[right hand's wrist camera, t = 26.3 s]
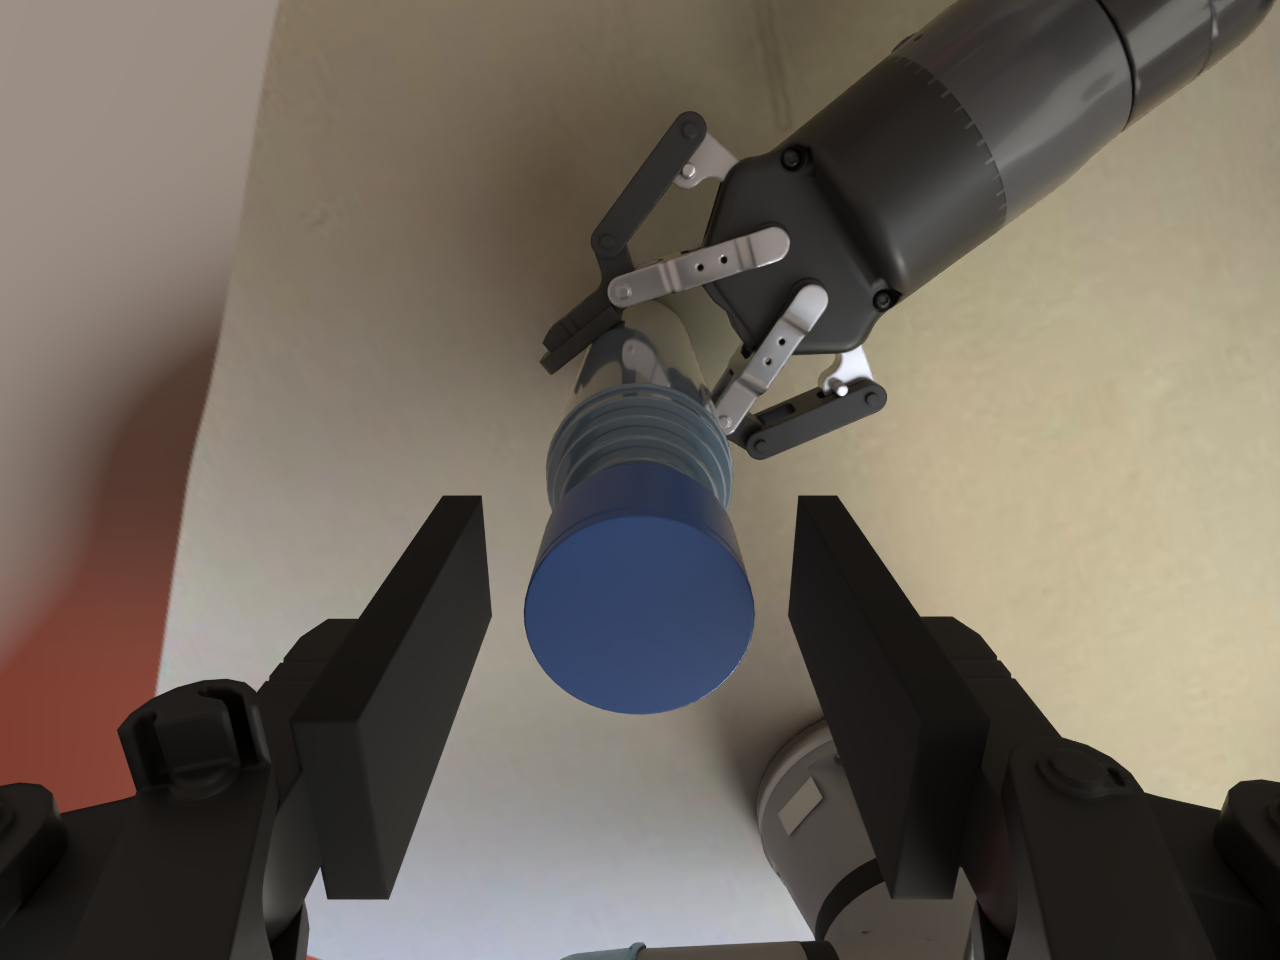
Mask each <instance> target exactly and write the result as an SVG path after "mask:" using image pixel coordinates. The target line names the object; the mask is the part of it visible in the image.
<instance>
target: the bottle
mask: <svg viewBox="0 0 1280 960" xmlns="http://www.w3.org/2000/svg"><path fill="white" fill-rule="evenodd" d="M630 464H649V465H657V466H662V467H666V468H670V469H673V470H676V471H678V472H681V473H683V474H686V475H687V476H689V477H691V478H693V479H695V480H696V481H698V482H699V483H700V484H702V485H703V486H704V487H706V488H707V489H708V490H709V491H710V492H711V493H712V494H713V495H714V496H715V497H716V498H717V499H718V501H719V502H720V503H721V505H722V506H723V507H724V509H725V511H726V513H727V510H728V508H729V505H730V500H731V495H732V485H733V472H734V471H733V459H732V454H731V449H730V446H729V443H728V440H727V437H726V435H725V432H724V429H723V427H722V424H721V422H720V419H719V416H718V414H717V411H716V408H715V406H714V403H713V400H712V398H711V395H710V392H709V390H708V387H707V384H706V382H705V379H704V376H703V374H702V371H701V368H700V366H699V363H698V360H697V358H696V355H695V352H694V350H693V347H692V344H691V342H690V339H689V336H688V334H687V331H686V328H685V326H684V325H683V323H682V321H681V320H680V318H679V317H678V316H677V315H676V314H675V313H674V312H673V311H672V310H671V309H670V308H668V307H667V306H665V305H664V304H661V303H659V302H657V301H653V300H649V301H646V302H643V303H640V304H636V305H633V306H630V307H628V308H626V309H625V310H624V311H623V315H622V320H620V321H619V322H618V323H617V324H615V325H614V326H613V327H612V328H610V329H609V330H608V331H607V332H605V333H604V334H602V335H601V336H600V337H599V338H598V339H597V340H595V341H594V342H593V343H592V344H590V345H589V346H588V347H587V350H586V352H585V355H584V358H583V360H582V363H581V365H580V368H579V371H578V373H577V376H576V378H575V381H574V384H573V386H572V389H571V391H570V394H569V397H568V399H567V402H566V404H565V407H564V410H563V412H562V415H561V418H560V420H559V423H558V425H557V428H556V431H555V433H554V436H553V438H552V441H551V444H550V447H549V451H548V455H547V463H546V480H547V493H548V499H549V503H550V506H551V509H552V512H553V511H554V509H555V507H556V506H557V504H558V503H559V502H560V501H561V499H562V498H563V497H564V496H565V495H566V494H567V493H568V492H569V491H570V490H571V489H572V488H573V487H574V486H576V485H577V484H578V483H580V482H581V481H583V480H584V479H586V478H588V477H590V476H591V475H593V474H595V473H598V472H600V471H603V470H606V469H609V468H613V467H617V466H622V465H630Z"/></svg>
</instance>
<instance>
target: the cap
mask: <svg viewBox="0 0 1280 960" xmlns="http://www.w3.org/2000/svg"><path fill="white" fill-rule="evenodd" d="M754 617H755V612H754V600H753V596H752V592H751V587H750V584H749V581H748V577H747V574H746V570H745V567H744V563H743V560H742V556H741V553H740V549H739V546H738V543H737V539H736V536H735V532H734V529H733V526H732V524H731V521H730V518H729V516H728V514H727V513H726V511H725V509H724V507H723V506H722V505H721V503H720V502H719V501H718V499H717V498H716V497H715V496H714V495H713V494H712V493H711V492H710V491H709V490H708V489H707V488H706V487H704V486H703V485H702V484H700V483H699V482H698V481H696V480H695V479H693V478H691V477H689V476H687V475H686V474H683V473H681V472H678V471H676V470H673V469H670V468H666V467H662V466H657V465H649V464H630V465H622V466H617V467H613V468H609V469H606V470H603V471H600V472H598V473H595V474H593V475H591V476H590V477H588V478H586V479H584V480H583V481H581V482H580V483H578V484H577V485H576V486H574V487H573V488H572V489H571V490H570V491H569V492H568V493H567V494H566V495H565V496H564V497H563V498H562V499H561V501H560V502H559V503H558V504H557V506H556V507H555V509H554V511H553V512H552V514H551V516H550V518H549V521H548V523H547V526H546V529H545V532H544V535H543V539H542V542H541V545H540V549H539V552H538V556H537V559H536V562H535V566H534V569H533V572H532V576H531V579H530V582H529V586H528V590H527V594H526V598H525V606H524V623H525V629H526V634H527V639H528V641H529V644H530V647H531V650H532V652H533V653H534V655H535V657H536V659H537V661H538V663H539V664H540V665H541V667H542V668H543V670H544V671H545V672H546V674H547V675H548V676H549V677H550V678H551V679H552V680H553V681H554V682H555V683H556V684H557V685H559V686H560V687H561V688H562V689H564V690H565V691H566V692H568V693H569V694H571V695H572V696H574V697H575V698H577V699H579V700H581V701H583V702H585V703H587V704H589V705H592V706H595V707H598V708H601V709H604V710H608V711H613V712H617V713H626V714H653V713H661V712H666V711H671V710H675V709H678V708H681V707H684V706H687V705H689V704H691V703H693V702H696V701H698V700H700V699H701V698H703V697H705V696H706V695H708V694H710V693H711V692H713V691H714V690H715V689H716V688H718V687H719V686H720V685H721V684H723V682H724V681H725V680H726V679H727V678H728V677H729V676H730V675H731V674H732V673H733V672H734V670H735V669H736V668H737V666H738V665H739V664H740V662H741V660H742V658H743V657H744V655H745V653H746V651H747V648H748V646H749V643H750V641H751V637H752V632H753V628H754Z"/></svg>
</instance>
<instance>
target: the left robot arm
mask: <svg viewBox="0 0 1280 960" xmlns="http://www.w3.org/2000/svg"><path fill="white" fill-rule="evenodd" d="M1275 2H1276V0H958V1H957V2H955V3H954V4H952V5H951V6H950V7H948V8H947V9H946V10H944V11H943V12H942V13H940V14H939V15H938V16H936V17H935V18H934V19H933V20H932V21H930V22H929V23H928V24H927V25H926V26H924V27H923V28H922V29H921V30H919V31H918V32H916V33H914V34H912V35H911V36H908V37H907V38H905V39H904V40H903V41H902V42H900V43H899V44H898V45H897V46H896V47H895V48H894V50H893V51H892V52H891V54H890V55H889V56H888V57H886V58H885V59H884V60H883V61H882V62H880V63H879V64H878V65H877V66H875V67H874V68H873V69H872V70H871V71H869V72H868V73H867V74H866V75H864V76H863V77H862V78H861V79H860V80H858V81H857V82H856V83H855V84H853V85H852V86H851V87H850V88H849V89H847V90H846V91H845V92H844V93H842V94H841V95H840V96H839V97H837V98H836V99H835V100H834V101H833V102H831V103H830V104H829V105H828V106H826V107H825V108H824V109H823V110H822V111H820V112H819V113H818V114H817V115H815V116H814V117H813V118H812V119H811V120H809V121H808V122H807V123H806V124H804V125H803V126H802V127H801V128H799V129H798V130H797V131H796V132H795V133H793V134H792V135H791V136H790V137H788V138H787V139H786V140H785V141H784V142H782V143H781V144H780V145H779V146H777V147H776V148H775V149H773V150H772V151H771V152H769V153H767V154H764V155H761V156H756V157H749V158H745V159H743V160H741V161H739V160H738V159H737V158H736V157H735V156H733V155H732V154H731V153H730V152H729V151H728V150H727V149H726V148H725V147H724V146H722V145H721V144H720V143H719V142H718V141H717V140H716V139H715V138H714V137H713V136H711V135H710V134H709V133H708V132H707V129H706V123H705V121H704V119H703V118H702V116H700V115H699V114H698V113H696V112H692V111H688V112H684V113H682V114H680V115H679V116H678V117H677V118H676V120H675V121H674V122H673V124H672V125H671V127H670V128H669V129H668V131H667V132H666V133H665V135H664V136H663V138H662V139H661V140H660V142H659V143H658V144H657V146H656V147H655V148H654V150H653V151H652V153H651V154H650V155H649V157H648V158H647V159H646V161H645V162H644V164H643V165H642V166H641V168H640V169H639V170H638V172H637V173H636V174H635V176H634V177H633V179H632V180H631V181H630V183H629V184H628V185H627V187H626V188H625V190H624V191H623V192H622V194H621V195H620V196H619V198H618V199H617V200H616V202H615V203H614V205H613V206H612V207H611V209H610V210H609V211H608V213H607V214H606V216H605V217H604V218H603V220H602V221H601V222H600V224H599V225H598V227H597V228H596V229H595V231H594V232H593V234H592V237H591V245H592V248H593V250H594V252H595V254H596V257H597V260H598V264H599V267H600V270H601V273H602V281H601V285H600V287H599V288H598V289H597V290H596V291H594V292H593V293H592V294H591V295H590V296H588V297H587V298H586V299H585V300H583V301H582V302H581V303H580V304H579V305H577V306H576V307H575V308H574V309H572V310H571V311H570V312H569V313H568V314H566V315H565V316H564V317H563V318H561V319H560V320H559V321H558V322H557V323H555V324H554V325H553V326H552V327H551V329H550V330H549V331H548V333H547V335H546V337H545V339H544V341H543V344H544V345H545V347H546V348H547V349H548V350H549V351H548V352H546V353H545V354H544V356H543V357H542V358H541V360H540V363H541V364H542V366H543V367H544V368H545V369H546V370H547V372H548V373H549V374H550V375H552V374H554V373H555V372H556V371H558V370H559V369H560V368H561V367H563V366H564V365H565V364H567V363H568V362H569V361H570V360H572V359H573V358H574V357H575V356H577V355H578V354H579V353H580V352H582V351H583V350H584V349H585V348H587V347H588V346H589V345H590V344H592V343H593V342H594V341H595V340H597V339H598V338H599V337H600V336H601V335H602V334H604V333H605V332H607V331H608V330H609V329H610V328H612V327H613V326H614V325H615V324H617V323H618V322H619V321H620V320H622V315H623V311H624V310H625V309H626V308H628V307H630V306H633V305H636V304H640V303H643V302H646V301H649V300H652V299H655V298H658V297H661V296H664V295H667V294H671V293H677V292H681V291H685V290H688V289H691V288H694V287H697V286H700V285H702V286H703V288H704V289H705V290H706V292H707V293H708V294H709V296H710V297H711V298H712V300H713V301H714V302H715V303H716V304H718V305H719V306H720V307H721V308H723V309H724V310H725V311H726V312H727V315H728V317H729V320H730V323H731V325H732V327H733V329H734V330H735V332H736V333H737V334H738V336H739V337H740V338H741V340H742V342H741V343H740V345H739V347H738V348H737V350H736V351H735V353H734V354H733V356H732V357H731V359H730V361H729V364H728V367H727V369H726V370H725V372H724V373H723V375H722V376H721V378H720V379H719V381H718V383H717V384H716V386H715V387H714V389H713V390H712V392H711V393H710V395H711V398H712V400H713V403H714V406H715V408H716V411H717V414H718V416H719V419H720V422H721V424H722V427H723V429H724V432H725V435H726V437H727V440H730V441H732V442H734V443H735V444H737V445H739V446H740V447H742V448H743V449H745V450H747V452H748V454H749V455H750V456H751V457H752V458H754V459H757V460H763V459H766V458H769V457H771V456H774V455H776V454H778V453H781V452H783V451H785V450H788V449H790V448H793V447H795V446H797V445H800V444H802V443H804V442H807V441H809V440H812V439H814V438H816V437H819V436H821V435H824V434H826V433H828V432H831V431H833V430H835V429H838V428H840V427H843V426H845V425H847V424H850V423H852V422H854V421H857V420H859V419H862V418H864V417H866V416H869V415H871V414H873V413H876V412H878V411H880V410H881V409H882V408H883V407H884V405H885V404H886V401H887V394H886V391H885V390H884V388H883V387H881V386H880V385H879V384H878V383H877V382H876V381H875V380H874V378H873V375H872V372H871V369H870V366H869V363H868V360H867V357H866V355H865V352H864V349H863V346H862V344H863V343H864V342H865V340H866V339H867V338H868V336H869V334H870V332H871V330H872V328H873V326H874V325H875V323H876V322H877V321H878V319H879V318H880V317H881V316H882V315H883V314H884V313H885V312H886V311H888V310H889V309H891V308H892V307H894V306H895V305H897V304H898V303H900V302H901V301H903V300H904V299H905V298H907V297H908V296H910V295H911V294H912V293H914V292H915V291H916V290H918V289H919V288H920V287H922V286H923V285H925V284H926V283H927V282H929V281H930V280H931V279H933V278H934V277H936V276H937V275H938V274H940V273H941V272H942V271H944V270H945V269H947V268H948V267H949V266H951V265H952V264H953V263H955V262H956V261H957V260H959V259H960V258H962V257H963V256H964V255H966V254H967V253H968V252H970V251H971V250H973V249H974V248H976V247H977V246H978V245H980V244H981V243H983V242H984V241H985V240H987V239H988V238H989V237H991V236H992V235H994V234H995V233H996V232H998V231H999V230H1000V229H1002V228H1003V227H1004V226H1006V225H1007V224H1009V223H1010V222H1011V221H1013V220H1014V219H1016V218H1017V217H1018V216H1020V215H1021V214H1022V213H1024V212H1025V211H1026V210H1028V209H1029V208H1031V207H1032V206H1033V205H1035V204H1036V203H1037V202H1039V201H1040V200H1042V199H1043V198H1044V197H1046V196H1047V195H1048V194H1050V193H1051V192H1053V191H1054V190H1055V189H1056V188H1058V187H1059V186H1060V185H1062V184H1063V183H1064V182H1065V181H1067V180H1068V179H1069V178H1070V177H1071V176H1072V175H1073V174H1074V173H1076V172H1077V171H1078V170H1079V169H1080V168H1081V167H1082V166H1083V165H1084V164H1085V163H1086V162H1087V161H1088V160H1089V159H1090V158H1092V157H1093V156H1094V155H1095V154H1096V153H1097V152H1098V151H1099V150H1100V149H1101V148H1103V147H1104V146H1105V145H1106V144H1107V143H1109V142H1110V141H1111V140H1113V139H1114V138H1115V137H1116V136H1117V135H1118V134H1120V133H1121V132H1123V131H1124V130H1125V129H1127V128H1128V127H1130V126H1131V125H1132V124H1134V123H1135V122H1136V121H1138V120H1139V119H1141V118H1142V117H1143V116H1145V115H1146V114H1147V113H1149V112H1150V111H1151V110H1153V109H1154V108H1156V107H1157V106H1158V105H1160V104H1161V103H1162V102H1164V101H1165V100H1167V99H1168V98H1169V97H1171V96H1172V95H1173V94H1175V93H1176V92H1178V91H1179V90H1180V89H1182V88H1183V87H1184V86H1186V85H1187V84H1189V83H1190V82H1192V81H1193V80H1195V79H1196V78H1197V77H1199V76H1200V75H1201V74H1203V73H1204V72H1206V71H1207V70H1208V69H1210V68H1211V67H1212V66H1214V65H1215V64H1216V63H1218V62H1219V61H1220V60H1222V59H1223V58H1224V57H1226V56H1227V55H1228V54H1229V53H1231V52H1232V51H1233V50H1234V49H1235V48H1237V47H1238V46H1239V45H1240V44H1241V43H1242V42H1243V41H1244V40H1246V39H1247V38H1248V37H1249V36H1250V35H1251V34H1252V33H1253V32H1254V31H1255V30H1256V29H1257V28H1258V26H1259V25H1260V24H1261V23H1262V22H1263V20H1264V19H1265V17H1266V16H1267V15H1268V13H1269V12H1270V10H1271V9H1272V7H1273V5H1274V3H1275ZM706 178H714V179H716V180H718V181H719V182H720V186H719V189H718V192H717V196H716V199H715V202H714V206H713V209H712V212H711V215H710V219H709V222H708V225H707V229H706V232H705V235H704V239H703V242H702V243H700V244H697V245H694V246H691V247H688V248H685V249H682V250H679V251H676V252H673V253H670V254H667V255H665V256H662V257H660V258H658V259H655V260H652V261H649V262H646V263H643V264H640V265H637V266H633V263H632V259H631V256H630V253H629V250H628V247H627V244H626V243H627V242H628V241H629V239H630V238H631V237H632V235H633V234H634V233H635V231H636V230H637V229H638V227H639V226H640V225H641V223H642V222H643V221H644V219H645V218H646V217H647V215H648V214H649V213H650V211H651V210H652V209H653V207H654V206H655V205H656V203H657V202H658V201H659V199H660V198H661V197H662V195H663V194H664V193H665V191H666V190H667V189H668V187H669V186H670V185H671V183H674V184H675V185H676V186H677V187H679V188H681V189H690V188H693V187H695V186H696V185H698V184H699V183H700V182H701V181H702V180H703V179H706ZM811 354H836V357H835V360H834V362H833V364H832V365H831V366H830V367H829V368H828V369H826V370H824V371H823V372H822V373H821V374H820V376H819V378H818V387H816V388H814V389H812V390H809V391H807V392H805V393H802V394H800V395H798V396H795V397H793V398H791V399H788V400H786V401H784V402H781V403H779V404H777V405H774V406H772V407H770V408H768V409H765V410H763V411H761V412H758V413H756V414H754V415H753V414H751V413H750V412H748V411H749V410H750V408H751V407H752V405H753V404H754V402H755V401H756V400H757V398H758V397H759V396H760V395H761V394H763V393H765V392H766V391H767V389H768V388H769V387H770V385H771V384H772V382H773V381H774V380H775V378H776V377H777V375H778V374H779V372H780V371H781V369H782V368H783V367H784V365H785V364H786V362H787V361H788V359H789V358H790V356H791V355H811ZM766 359H769V361H768V362H765V361H766Z"/></svg>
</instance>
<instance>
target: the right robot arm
mask: <svg viewBox="0 0 1280 960" xmlns="http://www.w3.org/2000/svg"><path fill="white" fill-rule="evenodd" d="M491 617H492V611H491V600H490V588H489V576H488V565H487V553H486V541H485V530H484V518H483V506H482V496H442V498H441V499H440V501H439V502H438V504H437V505H436V507H435V508H434V509H433V511H432V512H431V514H430V515H429V517H428V518H427V520H426V521H425V523H424V524H423V525H422V527H421V528H420V530H419V531H418V533H417V534H416V536H415V537H414V539H413V540H412V541H411V543H410V544H409V546H408V547H407V549H406V550H405V552H404V553H403V555H402V556H401V557H400V559H399V560H398V562H397V563H396V565H395V566H394V568H393V569H392V571H391V572H390V573H389V575H388V576H387V578H386V579H385V581H384V582H383V584H382V585H381V587H380V588H379V590H378V591H377V592H376V594H375V595H374V597H373V598H372V600H371V601H370V603H369V604H368V606H367V607H366V608H365V610H364V611H363V613H362V614H361V616H360V617H359V619H327V620H326V621H324V622H323V623H321V624H320V625H318V626H317V627H315V628H314V629H312V630H311V631H309V632H308V633H306V634H305V635H303V636H302V637H300V638H299V640H298V641H297V642H296V644H295V645H294V646H293V647H292V649H291V650H290V651H289V652H288V654H287V655H286V656H285V657H284V661H283V663H280V664H279V665H278V666H277V667H276V669H275V670H274V671H273V673H272V674H271V675H270V676H269V681H265V683H264V684H263V685H262V686H261V688H260V689H259V690H258V691H257V693H256V691H255V690H254V689H252V688H251V687H250V686H249V685H248V684H246V683H245V682H240V681H235V680H230V679H217V680H203V681H199V682H196V683H192V684H188V685H184V686H180V687H177V688H175V689H172V690H170V691H168V692H166V693H163V694H161V695H159V696H157V697H155V698H152V699H151V700H149V701H148V702H146V703H145V704H144V705H142V706H141V707H139V708H138V709H136V710H135V711H134V712H132V713H131V714H130V715H129V716H128V717H127V719H126V720H125V721H124V722H123V723H122V724H121V726H120V727H119V728H118V729H117V732H118V735H119V738H120V741H121V744H122V747H123V750H124V753H125V756H126V759H127V763H128V766H129V769H130V772H131V775H132V778H133V781H134V784H135V787H136V790H137V792H136V795H135V796H132V797H129V798H125V799H122V800H118V801H113V802H109V803H104V804H100V805H95V806H91V807H87V808H82V809H78V810H73V811H69V812H65V813H60V812H59V810H58V807H57V804H56V802H55V799H54V796H53V794H52V793H51V792H50V791H49V790H47V789H46V788H45V787H43V786H42V785H39V784H30V783H15V784H8V785H3V786H0V960H306V955H307V946H308V937H309V922H308V915H307V909H306V905H305V901H304V899H305V897H306V895H307V893H308V891H309V889H310V887H311V885H312V883H313V881H314V879H315V876H316V874H317V872H318V870H319V868H320V867H321V871H322V876H323V881H324V885H325V890H326V895H327V899H389V897H390V895H391V892H392V889H393V886H394V884H395V881H396V878H397V875H398V873H399V870H400V867H401V864H402V862H403V859H404V856H405V853H406V851H407V848H408V845H409V842H410V840H411V837H412V834H413V831H414V829H415V826H416V823H417V820H418V818H419V815H420V812H421V809H422V807H423V804H424V801H425V798H426V796H427V793H428V790H429V787H430V785H431V782H432V779H433V776H434V774H435V771H436V768H437V765H438V763H439V760H440V757H441V754H442V752H443V749H444V746H445V743H446V741H447V738H448V735H449V732H450V730H451V727H452V724H453V721H454V719H455V716H456V713H457V710H458V708H459V705H460V702H461V699H462V697H463V694H464V691H465V688H466V686H467V683H468V680H469V677H470V675H471V672H472V669H473V666H474V664H475V661H476V658H477V655H478V653H479V650H480V647H481V644H482V642H483V639H484V636H485V633H486V631H487V628H488V625H489V622H490V620H491ZM788 617H789V620H790V622H791V625H792V628H793V631H794V633H795V636H796V639H797V642H798V644H799V647H800V650H801V653H802V655H803V658H804V661H805V664H806V666H807V669H808V672H809V675H810V677H811V680H812V683H813V686H814V688H815V691H816V694H817V697H818V699H819V702H820V705H821V708H822V710H823V713H824V716H825V719H823V720H821V721H819V722H817V723H815V724H813V725H812V726H810V727H808V728H806V729H805V730H804V731H802V732H801V733H799V734H798V735H797V736H795V737H794V738H793V739H792V740H790V741H789V742H788V743H787V744H786V745H785V746H784V747H783V748H782V749H781V750H780V751H779V753H778V754H777V755H776V756H775V757H774V759H773V760H772V762H771V763H770V765H769V766H768V768H767V770H766V772H765V774H764V776H763V778H762V781H761V783H760V787H759V791H758V795H757V819H758V825H759V830H760V835H761V840H762V845H763V849H764V852H765V854H766V857H767V859H768V861H769V863H770V865H771V866H772V868H773V869H774V871H775V872H776V874H777V875H778V877H779V878H780V879H781V881H782V882H783V884H784V885H785V886H786V888H787V889H788V891H789V893H790V895H791V897H792V899H793V900H794V902H795V904H796V906H797V907H798V909H799V911H800V913H801V914H802V916H803V918H804V919H805V921H806V923H807V924H808V926H809V928H810V929H811V931H812V933H813V935H814V937H815V941H805V942H799V941H788V942H768V943H748V944H727V945H707V946H687V947H667V948H646V945H645V944H644V943H634V944H633V945H631V946H630V947H629V948H625V949H615V950H606V951H596V952H587V953H578V954H573V955H569V956H567V957H564V958H562V959H561V960H1280V783H1279V782H1274V781H1268V780H1262V779H1260V780H1250V781H1240V782H1239V783H1238V784H1236V785H1235V786H1234V787H1232V788H1231V789H1230V790H1229V791H1228V794H1227V796H1226V799H1225V802H1224V804H1223V807H1222V810H1216V809H1212V808H1208V807H1203V806H1199V805H1194V804H1190V803H1185V802H1181V801H1176V800H1172V799H1168V798H1163V797H1159V796H1155V795H1152V794H1148V793H1145V792H1144V791H1143V790H1142V788H1141V787H1140V785H1139V784H1138V782H1137V781H1136V780H1135V778H1134V777H1133V775H1132V774H1131V773H1130V772H1129V771H1128V770H1126V769H1125V768H1124V767H1123V766H1121V765H1120V764H1119V763H1118V762H1116V761H1115V760H1114V759H1113V758H1111V757H1110V756H1108V755H1106V754H1104V753H1102V752H1100V751H1098V750H1096V749H1094V748H1092V747H1090V746H1088V745H1086V744H1082V743H1079V742H1076V741H1072V740H1069V739H1066V738H1062V737H1061V736H1060V735H1059V733H1058V732H1057V731H1056V730H1055V728H1054V727H1053V726H1052V725H1051V723H1050V722H1049V721H1048V720H1047V718H1046V717H1045V716H1044V715H1043V713H1042V712H1041V711H1040V709H1039V708H1038V707H1037V706H1036V704H1035V703H1034V702H1033V701H1032V699H1031V698H1030V697H1029V696H1028V694H1027V693H1026V692H1025V691H1024V689H1023V688H1022V687H1021V686H1020V684H1019V683H1018V682H1017V681H1016V679H1012V678H1011V673H1010V672H1009V671H1008V669H1007V668H1006V667H1005V666H1004V664H1003V663H1002V662H1001V661H1000V660H997V656H996V654H995V653H994V652H993V651H992V649H991V648H990V647H989V646H988V644H987V643H986V642H985V641H984V639H983V638H982V637H981V636H980V635H979V634H978V633H976V632H975V631H973V630H972V629H970V628H969V627H967V626H966V625H964V624H963V623H961V622H960V621H958V620H957V619H955V618H954V617H920V616H919V614H918V613H917V611H916V610H915V608H914V607H913V606H912V604H911V603H910V601H909V600H908V598H907V597H906V595H905V594H904V592H903V591H902V590H901V588H900V587H899V585H898V584H897V582H896V581H895V579H894V578H893V576H892V575H891V573H890V572H889V571H888V569H887V568H886V566H885V565H884V563H883V562H882V560H881V559H880V557H879V556H878V555H877V553H876V552H875V550H874V549H873V547H872V546H871V544H870V543H869V541H868V540H867V539H866V537H865V536H864V534H863V533H862V531H861V530H860V528H859V527H858V525H857V524H856V523H855V521H854V520H853V518H852V517H851V515H850V514H849V512H848V511H847V509H846V508H845V507H844V505H843V504H842V502H841V501H840V499H839V498H838V496H798V506H797V518H796V530H795V541H794V553H793V565H792V576H791V588H790V600H789V611H788Z"/></svg>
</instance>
